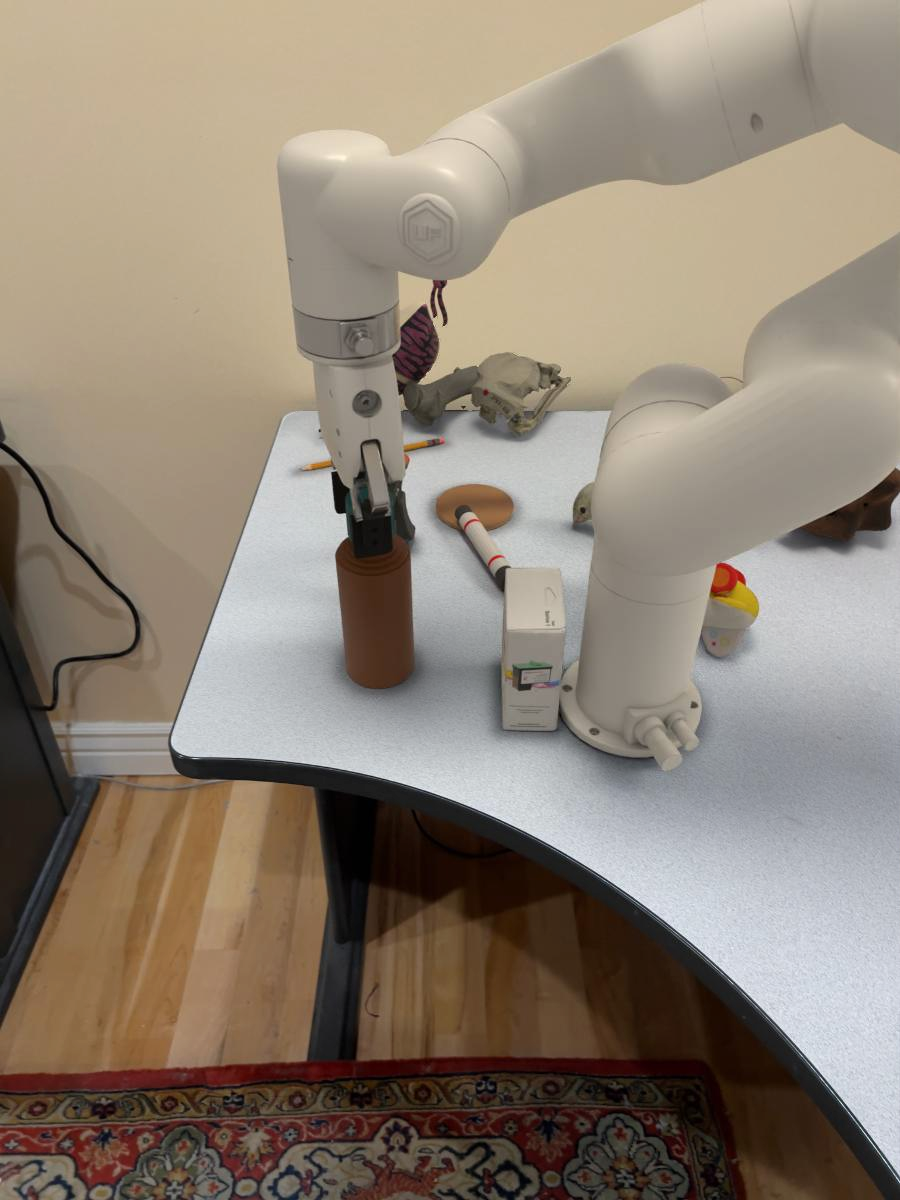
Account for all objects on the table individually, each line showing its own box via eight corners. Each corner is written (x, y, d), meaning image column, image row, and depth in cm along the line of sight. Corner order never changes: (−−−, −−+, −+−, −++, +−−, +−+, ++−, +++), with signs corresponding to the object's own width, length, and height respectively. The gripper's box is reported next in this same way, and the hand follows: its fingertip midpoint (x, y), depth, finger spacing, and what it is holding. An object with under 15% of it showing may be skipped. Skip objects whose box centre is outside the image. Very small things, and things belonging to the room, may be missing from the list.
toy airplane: (746, 666, 93) (612, 609, 99) (782, 585, 92) (644, 533, 98) (722, 662, 81) (572, 597, 87) (763, 569, 80) (609, 510, 87)
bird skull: (578, 448, 117) (578, 373, 111) (467, 444, 120) (462, 372, 114) (595, 367, 136) (596, 300, 130) (498, 365, 139) (495, 300, 133)
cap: (338, 535, 78) (334, 498, 75) (372, 516, 80) (370, 479, 77) (370, 554, 75) (367, 516, 73) (404, 534, 78) (403, 497, 75)
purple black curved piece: (469, 306, 109) (504, 323, 127) (425, 253, 110) (466, 277, 128) (326, 447, 117) (378, 444, 135) (285, 397, 118) (342, 401, 136)
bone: (398, 380, 118) (395, 424, 122) (434, 398, 115) (430, 442, 118) (508, 346, 132) (502, 386, 136) (544, 360, 129) (537, 401, 132)
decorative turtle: (947, 467, 96) (898, 430, 102) (819, 488, 92) (775, 449, 98) (917, 543, 102) (872, 505, 108) (795, 566, 99) (756, 525, 105)
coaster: (525, 522, 105) (525, 518, 105) (450, 538, 103) (450, 533, 102) (496, 482, 112) (496, 478, 111) (425, 496, 109) (425, 491, 109)
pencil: (444, 440, 118) (443, 444, 119) (443, 436, 118) (442, 440, 119) (299, 469, 113) (299, 473, 114) (297, 465, 113) (297, 469, 114)
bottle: (423, 679, 86) (418, 517, 74) (356, 695, 84) (341, 533, 73) (402, 635, 90) (395, 477, 79) (338, 650, 89) (322, 491, 77)
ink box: (499, 663, 87) (504, 563, 80) (552, 664, 87) (561, 564, 80) (500, 731, 81) (505, 629, 73) (557, 732, 80) (568, 630, 73)
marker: (454, 521, 104) (454, 506, 103) (470, 516, 105) (470, 502, 103) (510, 606, 94) (510, 592, 92) (527, 601, 94) (528, 587, 93)
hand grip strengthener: (417, 537, 103) (414, 415, 93) (391, 608, 93) (384, 481, 84) (397, 535, 103) (392, 413, 94) (369, 605, 94) (360, 479, 84)
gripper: (433, 368, 61) (436, 583, 72) (368, 277, 74) (380, 472, 85) (321, 384, 59) (342, 602, 71) (274, 288, 72) (299, 486, 83)
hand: (362, 529), depth 78 cm, fingers open, 6 cm apart
